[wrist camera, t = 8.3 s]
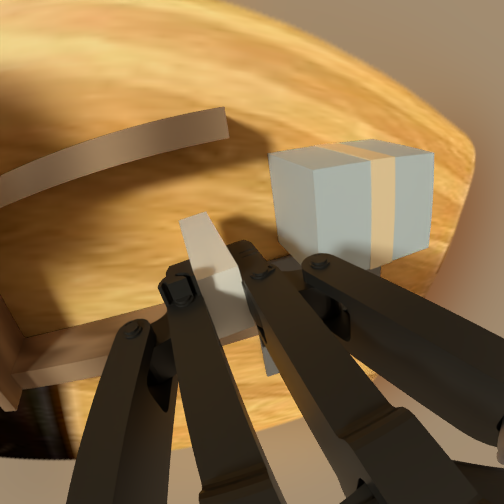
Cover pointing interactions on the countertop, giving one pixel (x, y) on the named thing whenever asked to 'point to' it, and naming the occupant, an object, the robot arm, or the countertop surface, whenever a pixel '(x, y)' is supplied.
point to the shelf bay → (104, 331)
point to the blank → (353, 200)
